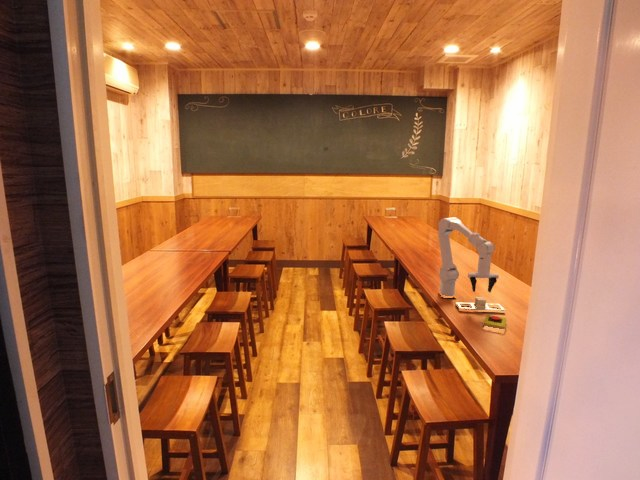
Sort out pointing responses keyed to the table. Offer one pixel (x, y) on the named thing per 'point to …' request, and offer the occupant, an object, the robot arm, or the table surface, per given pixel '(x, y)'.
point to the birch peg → (480, 302)
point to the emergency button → (495, 322)
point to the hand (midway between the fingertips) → (481, 291)
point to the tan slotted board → (478, 308)
